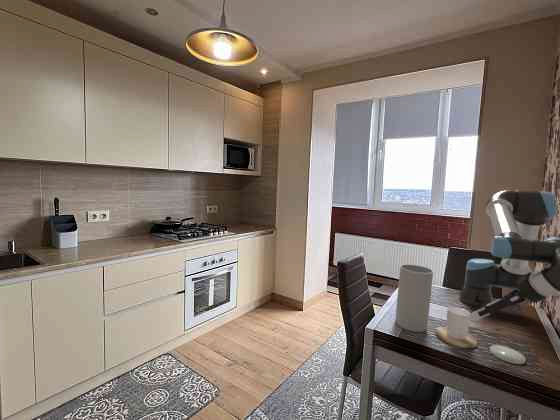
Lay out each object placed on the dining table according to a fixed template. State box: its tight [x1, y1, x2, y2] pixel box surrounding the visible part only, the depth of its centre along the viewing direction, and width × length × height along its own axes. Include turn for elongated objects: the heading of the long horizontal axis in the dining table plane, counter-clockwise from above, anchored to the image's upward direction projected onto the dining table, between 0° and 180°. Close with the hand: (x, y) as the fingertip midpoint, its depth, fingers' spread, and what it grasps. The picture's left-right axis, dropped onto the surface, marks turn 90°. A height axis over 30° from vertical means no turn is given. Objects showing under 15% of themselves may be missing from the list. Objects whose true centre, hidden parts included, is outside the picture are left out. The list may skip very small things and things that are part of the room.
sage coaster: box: [489, 344, 526, 365], centre depth 103 cm, size 10×10×1 cm
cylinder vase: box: [394, 263, 434, 333], centre depth 121 cm, size 12×12×25 cm
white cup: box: [446, 306, 471, 340], centre depth 113 cm, size 8×8×10 cm
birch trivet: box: [435, 326, 478, 349], centre depth 113 cm, size 14×14×1 cm
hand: (479, 313), depth 106 cm, fingers open, 13 cm apart
